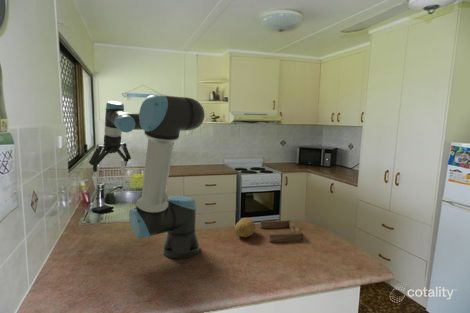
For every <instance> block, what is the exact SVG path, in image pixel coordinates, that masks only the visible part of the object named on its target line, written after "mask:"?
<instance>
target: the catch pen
mask: <svg viewBox="0 0 470 313" xmlns="http://www.w3.org/2000/svg"><path fill="white" fill-rule="evenodd" d="M277 228H278V229H279V228H280V229H281V228H283V229H284V228H288V229H289V230H290V232H292V233H272V234H271V233H270V234H269V238H268V242H269V241H270V242H269V243H282V242H281V241H289V242H303V241H304V233H303V232H302V231H301V230H300V228H298V227H297V226H296V225H295V224H294V222H292V221H291V220H290V219H289V220H285V219H283V220H261V221H260V229H277Z"/></svg>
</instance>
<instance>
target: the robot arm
mask: <svg viewBox="0 0 470 313" xmlns="http://www.w3.org/2000/svg"><path fill="white" fill-rule="evenodd" d="M205 115H206V113H205V109H204V107H203V106H202V104H201V103H200V102H199V101H197V100H196V99H194V98H192V97H185V96H172V95H164V94H158V95H157V94H151V95H148V96H147V97H146V98H145V99H144V100H143V101H142V104H141V106H140V108H139V112H126V111H125V105H124V103H122V102H120V101H113V100H109V101H107V102H106V105H105V118H104V133H103V134H104V135H103V144H97V145H96V148H95V151H94V152H93V154H92V156H91V158H90V159H89V161H88V163H89V164H90V165H91V166H92V170H93V173H94V177H95V178H96V179H99V178H100V176H99V175H100V165H99V164H100V163H101V162H102V161H103V159H104V158H105V157H106V156H107V155H109V154H115V153H117V154H118V155H119V156H120V157H121V163H120V172H121V173H122V174H125V172H126V167H127V166H128V162H129V160H131V159H132V157H131V154H130V152H129V150H128V147H127V143H126V142H125V141H122V134H123V133H126V134H127V133H131V132H132V131H133V130H137V131H139V130H143V132H144V135H145V137H147V148H146V157H145V162H144V164H145V165H144V172H143V181H142V190H141V197H139V198H138V199H137V201H136V204H135V205H136V206H135V207H132V208H131V209H130V210H129V211H128V220H129V224H130V227H131V230H132V231H133V232H132V233H133V234H134V235H135V236H136V238H138V239H145V238H150V237H152V236H154V237H155V236H156V235H160V234H164V233H167V234H166V238H165V240H164V243H163V246H162V253H163V254H164V255H165V256H166V257H167V258H170V259H177V260H178V259H180V260H181V259H187V258H189V259H190V258H191V257H194V256H196V255H197V254H198V253H199V252H200V242H199V238H198V237H197V233H196V214H197V212H196V210H197V207H196V201H195V199H194V198H191V197H190V196H184V195H169V196H168V197H167V198H166V195H167V190H168V181H169V175H170V169H171V164H172V163H171V161H172V154H173V149H174V143H175V142H176V141H177V140H179V138H180V132H181V131H193V130H196V129H197V128H199V127H201V125H202V124H203V122H204V120H205ZM120 148H122V151H123V152H122V151H121V150H120Z"/></svg>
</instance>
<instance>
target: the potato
mask: <svg viewBox="0 0 470 313" xmlns="http://www.w3.org/2000/svg"><path fill="white" fill-rule="evenodd" d="M255 230H256V224H255V223H254V221H253V219H251V217H250V218H249V217H244V218H243V217H242V218H241V219H240V220H239V221H238V222H237V223H235V226H234V231H235V233H236V234H237V235H238V237H241V238H248V237H250V236H252V235H253V234H254V232H255Z"/></svg>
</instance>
